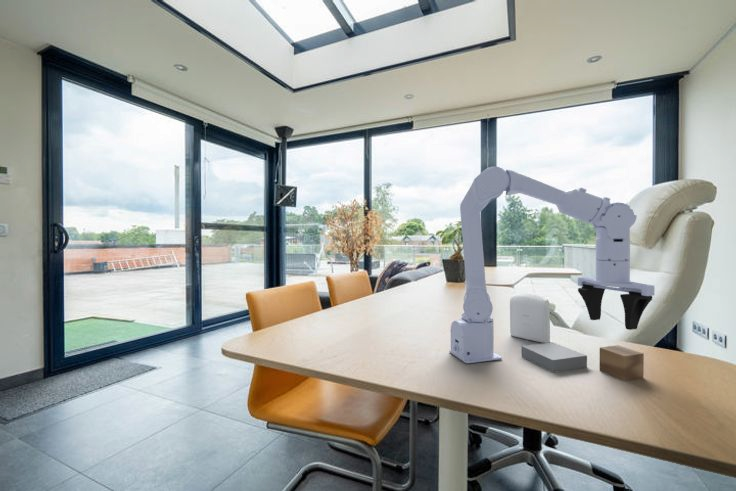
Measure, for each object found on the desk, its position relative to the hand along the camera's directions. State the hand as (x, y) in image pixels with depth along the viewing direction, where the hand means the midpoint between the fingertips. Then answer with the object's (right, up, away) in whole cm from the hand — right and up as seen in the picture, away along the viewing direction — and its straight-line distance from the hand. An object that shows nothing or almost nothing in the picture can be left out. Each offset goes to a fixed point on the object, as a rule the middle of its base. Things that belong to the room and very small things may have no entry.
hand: (612, 324), depth 67 cm
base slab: (-10, -10, +4) cm, 15 cm away
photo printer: (-7, -9, +21) cm, 24 cm away
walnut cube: (0, -10, -2) cm, 10 cm away
